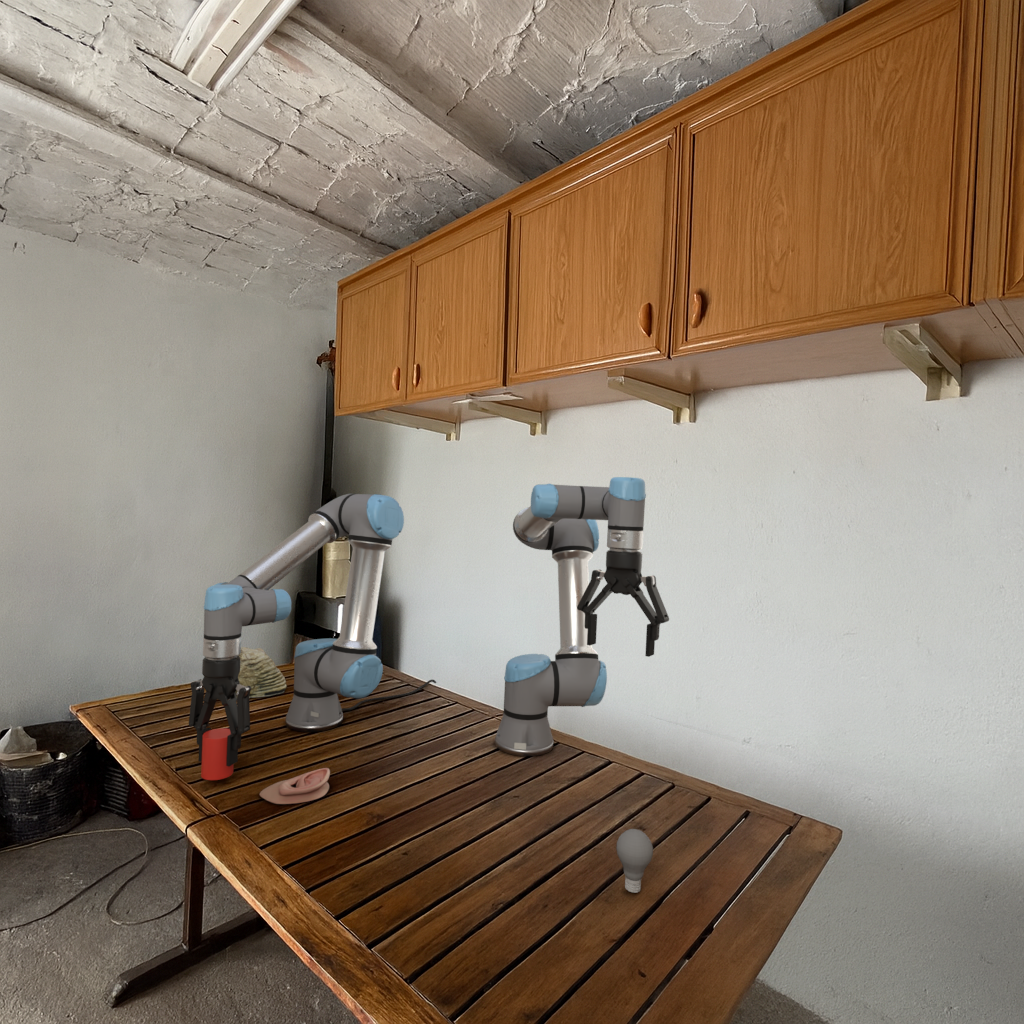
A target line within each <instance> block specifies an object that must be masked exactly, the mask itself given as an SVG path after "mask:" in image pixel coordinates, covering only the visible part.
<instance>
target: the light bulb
mask: <svg viewBox="0 0 1024 1024" xmlns="http://www.w3.org/2000/svg"><path fill="white" fill-rule="evenodd" d="M615 849H616V854H617V857H618V859H619V861H620V863H621V865H622V867H623V873H624V874H623V875H624V876H625V878H624V888H625V890H627V891H628V892H630V893H634V894H635V893H639V892H640V891H641V889H642V887H641V886H642V879H643V877H644V875H645V871H646V868H647V867H648V866H649V864H650V863H651V861H652V859H653V855H654V847H653V843H652V841H651V838H649V836H648V835H647V834H646V833H645V832H643V831H642V830H641V829H636V828H629V829H627V830H625V831H623V832H622V833H621V834H620V835H619V837H618V839H617V841H616V847H615Z"/></svg>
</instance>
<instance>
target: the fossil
mask: <svg viewBox="0 0 1024 1024" xmlns="http://www.w3.org/2000/svg"><path fill="white" fill-rule="evenodd" d="M238 656H239V657H240V672H239V675H238V679H239V682H240V684H241V685H243V686H248V685H249V686H251V691H250V695H249V699H250V698H264V697H271V696H275V695H281V694H284V693H285V691H286V689H287V687H288V686H287V680H286V678H285V676H284V674H283V673H282V672H281V669H279V668H278V667H277V665H276V663H275V662H274V660H273V659H272V658H271V657H270V656H269V655H268V654H267V653H266V652H265V650H264V649H263V648H260V647H258V648H251V647H247V646H246V647H245V646H241V653H240V654H239V655H238ZM236 693H237V690H236ZM236 697H238V696H237V695H236Z"/></svg>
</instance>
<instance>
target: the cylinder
mask: <svg viewBox="0 0 1024 1024" xmlns="http://www.w3.org/2000/svg"><path fill="white" fill-rule="evenodd" d="M230 734H231V732H230V728H225V727H224V728H223V727H222V728H214V729H211V730H209V731H207V732H205V733H204V734H203V737H202V762H201V764H200V765H201V766H200V767H201V769H200V778H202V779H203V780H206V781H218V780H224V779H227V778H229V777H231V776H232V775H233V773H234V765H235V763H234V764H233V765H231V766H226V762H227V736H228V735H230Z"/></svg>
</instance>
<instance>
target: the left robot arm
mask: <svg viewBox="0 0 1024 1024" xmlns="http://www.w3.org/2000/svg"><path fill="white" fill-rule="evenodd" d="M307 520H308V521H307V522H306V523H305V524H302V526H300V527H299V528H298V529H297V530H296V531H294V532H293V533H292V534H290V535H289V536H288V537H286V538H285V539H284V540H282V541H281V542H280V543H279V544H278V545H276V546H274V547H273V548H272V549H271V550H270V551H268V552H266V554H264V555H263V556H262V557H260V558H259V559H258V560H256V561H255V562H253V564H251V565H250V566H248V567H247V568H246V569H245V570H243V571H242V572H240V573H239V574H238V575H237V576H236V577H234V578H232V580H230V581H229V582H227V581H225V582H217V583H215V584H214V585H210V586H208V587H207V589H206V591H205V595H204V596H205V597H204V605H203V611H204V612H203V614H204V615H203V642H202V643H203V644H202V645H203V646H202V647H203V648H202V656H203V657H204V658H203V659H202V665H201V666H202V668H201V674H202V676H203V678H202V679H201V678H200V679H197V680H195V681H191V683H190V690H191V698H190V708H189V718H188V726H189V727H190V728H192V727H193V728H195V730H196V745H198V758H197V759H198V762H200V763H202V737H203V734H204V733H205V732H207V731H209V730H212V727H209V726H211V724H210V720H211V717H212V714H213V712H214V709H215V707H216V703H217V700H219V701H220V702H221V705H222V706H223V707H224V708H223V709H224V711H225V716H226V720H227V724H228V729H230V732H231V734H230V735H228V736H227V762H226V766H231V765H233V764H234V765H235V764H236V763H238V761H239V749H241V747H242V734H244V733H247V732H249V731H250V730H251V711H250V710H251V709H250V698H249V695H250V691H251V686H249V685H248V686H243V685H241V684H240V682H239V679H238V675H239V672H240V657H239V656H238V655H239V654H240V653H241V647H242V630H243V627H248V626H256V625H262V624H270V623H274V624H275V623H277V622H280V621H284V620H286V619H287V618H288V617H289V616H290V614H291V611H292V598H291V595H290V594H289V593H288V591H286V590H285V589H283V588H273V587H274V586H275V585H277V584H278V583H279V582H280V581H281V580H283V579H284V578H285V577H286V576H288V575H289V574H290V573H291V572H293V571H294V570H295V569H296V568H297V567H299V566H300V565H301V564H302V563H304V562H305V561H306V560H307V559H308V558H310V557H311V556H313V554H315V553H316V552H318V551H319V550H320V549H321V548H322V547H323V546H325V545H326V544H333V543H334V542H335V541H337V540H338V539H340V538H342V537H344V536H348V539H347V541H348V543H349V544H350V545H351V547H352V552H351V558H350V565H349V572H348V578H347V585H346V590H345V591H346V592H345V598H344V606H343V610H342V611H343V612H342V617H341V625H340V631H339V636H338V638H331V637H329V638H317V639H316V638H315V639H308V640H304V641H301V642H299V643H298V644H297V645H296V646H295V652H294V656H293V658H294V670H293V671H294V672H293V695H292V696H293V697H292V699H291V702H290V704H289V708H288V711H287V713H286V715H285V726H286V728H287V729H289V730H291V731H294V732H295V731H296V732H301V733H316V732H325V731H329V730H332V729H335V728H337V727H339V726H340V725H342V723H343V722H344V714H343V712H348V711H349V712H350V711H353V710H355V709H356V708H358V706H360V705H362V704H364V703H368V702H373V701H383V700H389V699H395V698H396V699H397V698H401V697H406V696H410V695H412V694H415V693H417V692H419V691H420V690H421V689H422V688H425V687H426V686H427V685H429V684H430V683H434V684H437V681H436V680H435V679H429V680H428V681H426V682H424V683H423V684H422V685H420V686H419V687H417V688H415V689H414V690H411V691H408V692H404V693H398V694H393V695H388V696H380V697H371V698H367V697H368V696H369V695H371V694H372V693H373V692H374V690H376V688H378V686H379V685H380V682H381V681H382V677H383V673H384V665H383V663H382V660H381V659H380V658H379V656H377V649H378V646H377V645H376V643H375V642H374V640H373V638H374V629H375V623H376V617H377V610H378V601H379V595H380V588H381V582H382V575H383V567H384V562H385V554H386V551H388V550H389V549H390V548H392V544H393V540H394V539H395V538H397V537H399V535H400V534H401V533H402V531H403V529H404V525H405V524H404V523H405V516H404V511H403V509H402V507H401V506H400V503H399V502H398V500H396V499H395V498H394V497H392V496H390V495H383V494H377V493H374V494H372V493H365V494H364V493H347V494H343V495H340V496H338V497H335V498H334V499H332V500H330V501H329V502H327V503H326V504H324V505H322V506H321V507H320V508H318V509H316V511H314V512H313V513H311V514H310V515H309V517H308V519H307ZM236 690H237V693H236ZM236 695H237V696H238V697H236ZM339 695H340V696H343V697H346V698H348V699H349V698H351V699H357V700H358V699H363V700H360V701H359V702H357V703H356V704H355V705H353V706H350V707H346V708H344V707H343V708H342V706H341V702H340V699H339ZM365 698H366V699H365Z"/></svg>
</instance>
